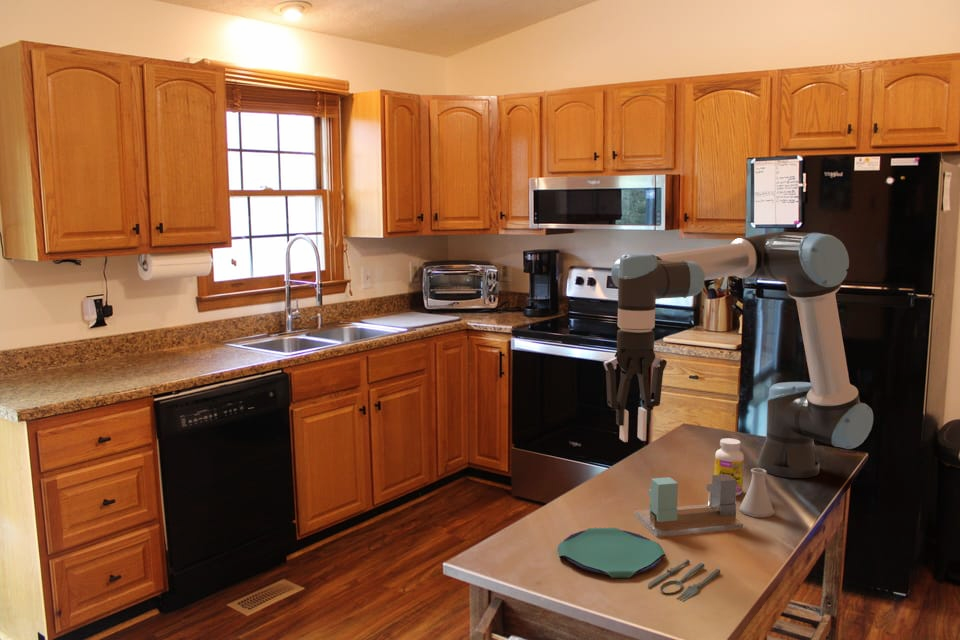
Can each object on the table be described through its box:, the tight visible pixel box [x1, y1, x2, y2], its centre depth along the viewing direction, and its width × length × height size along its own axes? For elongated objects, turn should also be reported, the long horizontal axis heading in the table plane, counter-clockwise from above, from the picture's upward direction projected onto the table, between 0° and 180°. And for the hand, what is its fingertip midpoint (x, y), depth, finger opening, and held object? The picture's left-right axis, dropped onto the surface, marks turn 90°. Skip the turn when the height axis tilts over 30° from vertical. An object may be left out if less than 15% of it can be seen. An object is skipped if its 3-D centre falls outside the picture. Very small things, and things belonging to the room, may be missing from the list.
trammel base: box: [633, 474, 744, 538], centre depth 177 cm, size 20×12×11 cm, turn 102°
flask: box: [739, 467, 775, 518], centre depth 183 cm, size 7×7×10 cm
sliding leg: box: [647, 476, 679, 522], centre depth 175 cm, size 4×9×9 cm, turn 12°
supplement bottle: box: [713, 437, 745, 496], centre depth 195 cm, size 7×7×13 cm
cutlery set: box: [557, 527, 721, 602], centre depth 158 cm, size 20×30×2 cm, turn 46°
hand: (632, 439), depth 170 cm, fingers open, 3 cm apart
